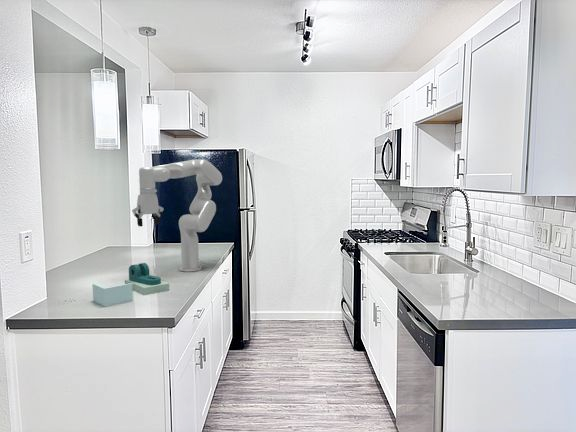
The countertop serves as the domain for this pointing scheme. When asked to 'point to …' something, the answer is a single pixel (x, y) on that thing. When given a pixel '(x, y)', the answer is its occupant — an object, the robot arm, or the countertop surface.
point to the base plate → (148, 287)
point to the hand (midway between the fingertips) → (148, 225)
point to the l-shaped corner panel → (112, 294)
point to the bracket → (142, 275)
